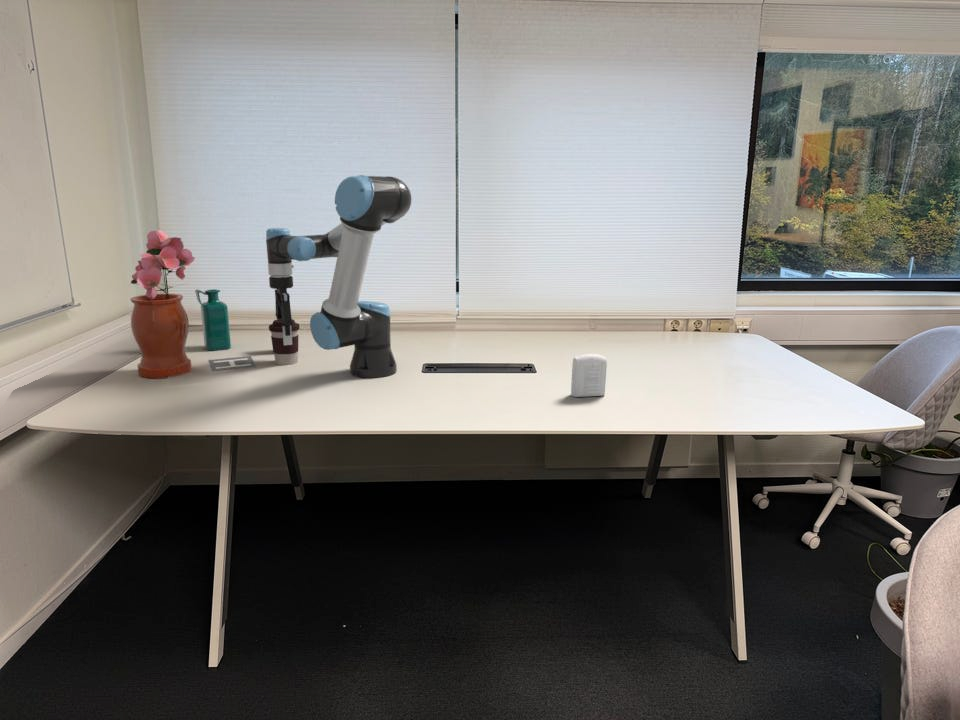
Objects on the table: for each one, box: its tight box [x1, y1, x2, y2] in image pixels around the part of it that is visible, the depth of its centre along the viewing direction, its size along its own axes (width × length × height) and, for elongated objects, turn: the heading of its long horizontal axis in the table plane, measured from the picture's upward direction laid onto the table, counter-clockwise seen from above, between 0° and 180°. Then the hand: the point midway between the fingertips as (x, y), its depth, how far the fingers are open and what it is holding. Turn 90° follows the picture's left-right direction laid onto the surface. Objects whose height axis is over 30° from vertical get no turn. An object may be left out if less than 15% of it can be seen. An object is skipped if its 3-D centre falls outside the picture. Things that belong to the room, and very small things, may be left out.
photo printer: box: [570, 353, 608, 398], centre depth 194 cm, size 10×4×12 cm, turn 103°
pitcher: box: [194, 288, 232, 352], centre depth 244 cm, size 10×8×22 cm
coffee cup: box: [268, 318, 301, 366], centre depth 225 cm, size 10×10×15 cm
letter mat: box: [208, 355, 257, 372], centre depth 225 cm, size 16×14×1 cm
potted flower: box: [130, 229, 195, 379], centre depth 211 cm, size 19×25×45 cm
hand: (285, 341), depth 225 cm, fingers closed on coffee cup, 10 cm apart
